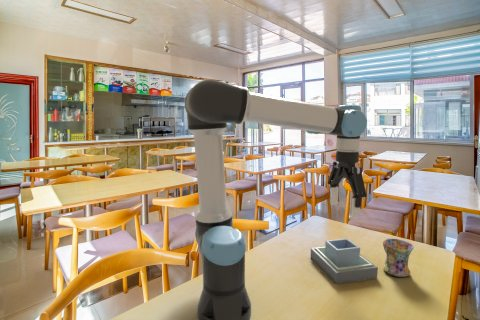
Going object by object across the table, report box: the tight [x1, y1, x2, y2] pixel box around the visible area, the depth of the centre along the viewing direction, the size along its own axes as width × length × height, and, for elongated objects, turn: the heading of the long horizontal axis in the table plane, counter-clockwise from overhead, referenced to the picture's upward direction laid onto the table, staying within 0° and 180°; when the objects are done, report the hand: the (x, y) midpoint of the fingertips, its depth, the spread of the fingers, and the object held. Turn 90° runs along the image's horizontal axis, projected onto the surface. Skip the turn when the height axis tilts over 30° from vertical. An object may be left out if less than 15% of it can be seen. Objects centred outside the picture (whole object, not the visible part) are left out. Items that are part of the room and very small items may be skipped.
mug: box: [382, 238, 414, 278], centre depth 104 cm, size 12×9×11 cm
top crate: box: [314, 246, 372, 271], centre depth 106 cm, size 13×16×4 cm
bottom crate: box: [310, 246, 379, 285], centre depth 107 cm, size 16×19×4 cm
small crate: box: [324, 238, 361, 268], centre depth 106 cm, size 9×8×8 cm
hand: (344, 209), depth 104 cm, fingers open, 13 cm apart
